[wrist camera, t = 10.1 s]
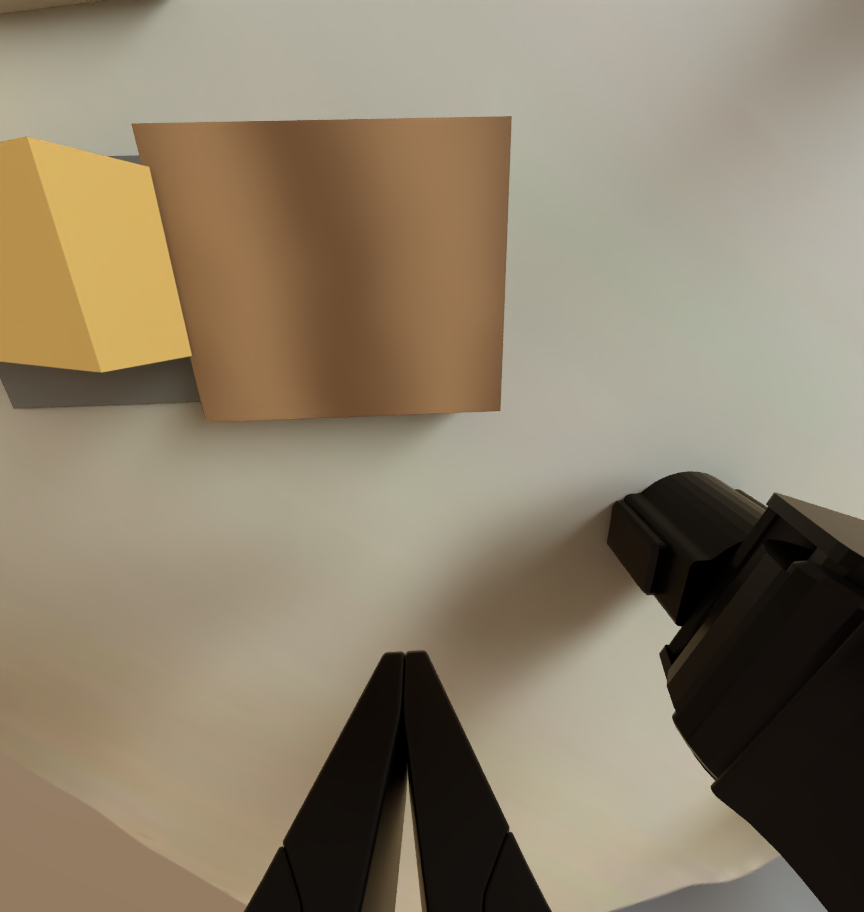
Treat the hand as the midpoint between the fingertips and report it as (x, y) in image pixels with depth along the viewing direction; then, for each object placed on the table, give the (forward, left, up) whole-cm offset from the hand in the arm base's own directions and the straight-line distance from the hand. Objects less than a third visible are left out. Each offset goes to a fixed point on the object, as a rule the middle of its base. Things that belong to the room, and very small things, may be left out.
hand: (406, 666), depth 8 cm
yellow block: (+11, -8, -10) cm, 17 cm away
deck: (+2, -7, -12) cm, 14 cm away
